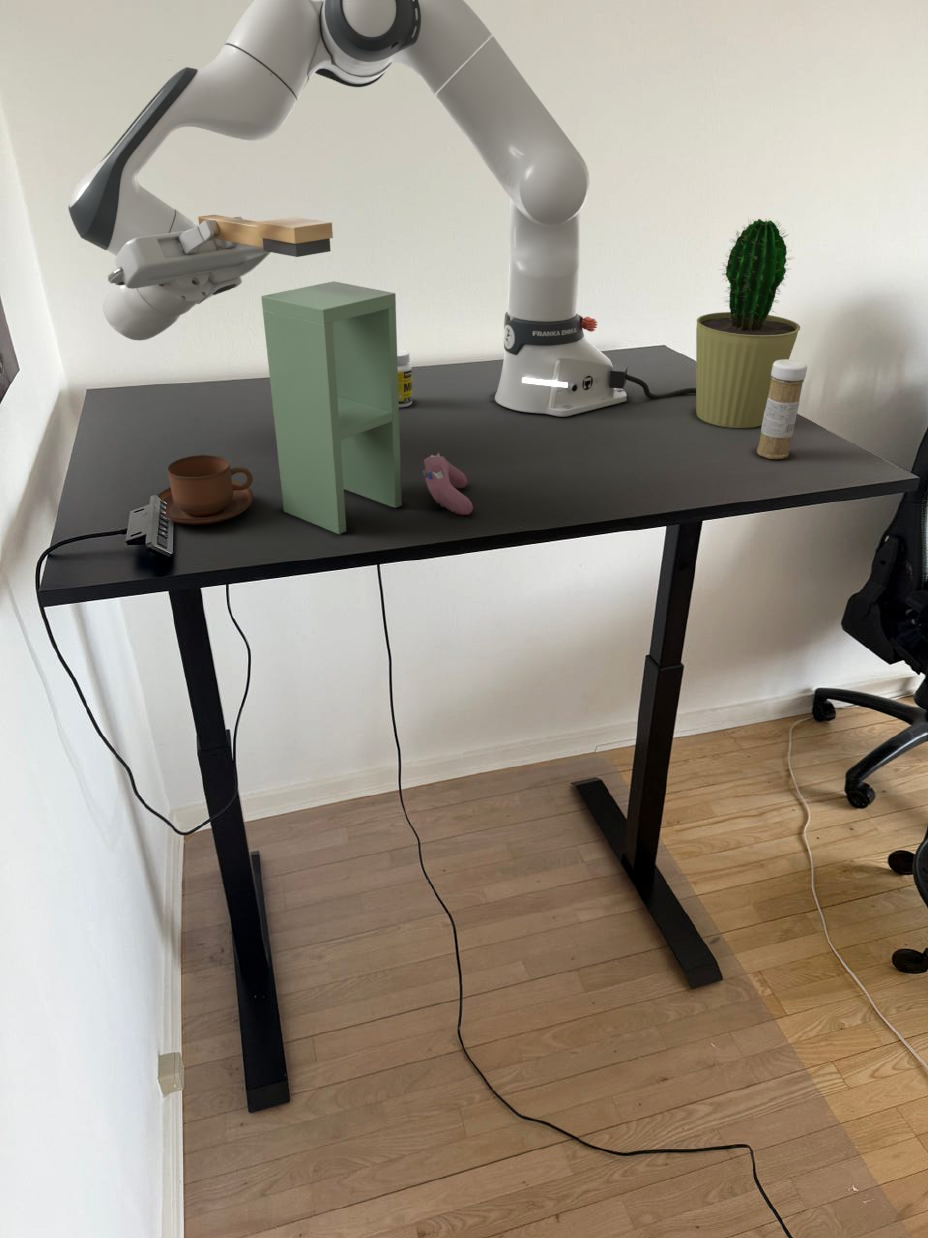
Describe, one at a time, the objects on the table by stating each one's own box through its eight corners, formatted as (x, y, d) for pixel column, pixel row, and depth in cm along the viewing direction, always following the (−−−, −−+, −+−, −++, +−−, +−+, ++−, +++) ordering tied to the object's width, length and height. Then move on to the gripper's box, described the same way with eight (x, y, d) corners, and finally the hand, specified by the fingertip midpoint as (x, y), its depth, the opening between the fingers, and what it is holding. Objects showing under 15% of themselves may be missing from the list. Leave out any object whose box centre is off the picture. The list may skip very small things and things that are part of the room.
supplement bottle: (408, 409, 146) (407, 357, 142) (380, 407, 147) (378, 355, 142) (415, 400, 150) (414, 349, 146) (388, 398, 151) (386, 348, 146)
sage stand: (283, 511, 112) (260, 295, 98) (347, 485, 119) (333, 280, 105) (339, 534, 106) (323, 309, 93) (402, 505, 114) (395, 292, 100)
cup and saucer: (225, 485, 118) (219, 441, 115) (272, 514, 111) (267, 468, 108) (139, 509, 112) (130, 463, 108) (183, 542, 104) (174, 493, 101)
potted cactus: (801, 426, 140) (846, 220, 125) (718, 437, 136) (753, 224, 120) (743, 397, 153) (777, 206, 137) (665, 406, 148) (691, 210, 133)
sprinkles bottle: (773, 447, 132) (791, 356, 125) (795, 457, 129) (815, 365, 122) (749, 452, 131) (766, 360, 124) (770, 462, 127) (789, 368, 120)
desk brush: (189, 237, 106) (185, 210, 104) (227, 232, 110) (223, 205, 108) (296, 257, 96) (294, 227, 94) (333, 251, 99) (332, 222, 98)
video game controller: (438, 497, 120) (414, 453, 116) (469, 482, 119) (445, 437, 115) (443, 529, 111) (417, 483, 108) (476, 513, 110) (451, 466, 107)
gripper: (90, 259, 108) (137, 205, 98) (227, 239, 121) (281, 190, 111) (114, 310, 109) (162, 262, 99) (247, 284, 122) (301, 240, 112)
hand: (226, 224), depth 105 cm, fingers closed on desk brush, 2 cm apart
